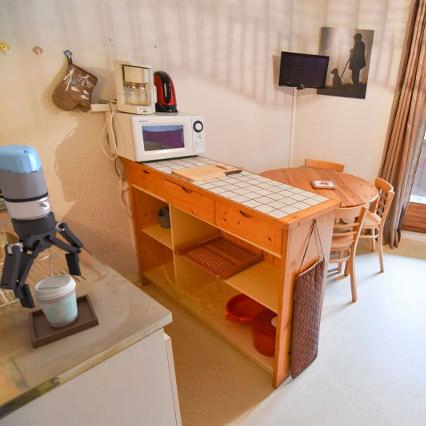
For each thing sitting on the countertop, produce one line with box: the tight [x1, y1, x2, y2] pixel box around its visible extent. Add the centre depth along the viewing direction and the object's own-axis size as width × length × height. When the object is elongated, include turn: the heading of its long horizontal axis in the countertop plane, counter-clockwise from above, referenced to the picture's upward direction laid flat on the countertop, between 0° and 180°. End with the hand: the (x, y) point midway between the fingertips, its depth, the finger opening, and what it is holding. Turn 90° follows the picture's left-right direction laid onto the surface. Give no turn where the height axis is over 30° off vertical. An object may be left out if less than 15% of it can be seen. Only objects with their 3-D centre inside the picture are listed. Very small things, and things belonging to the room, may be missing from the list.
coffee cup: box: [32, 274, 78, 328], centre depth 82 cm, size 8×8×12 cm
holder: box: [27, 293, 100, 349], centre depth 85 cm, size 13×13×2 cm
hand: (54, 289), depth 81 cm, fingers open, 13 cm apart
